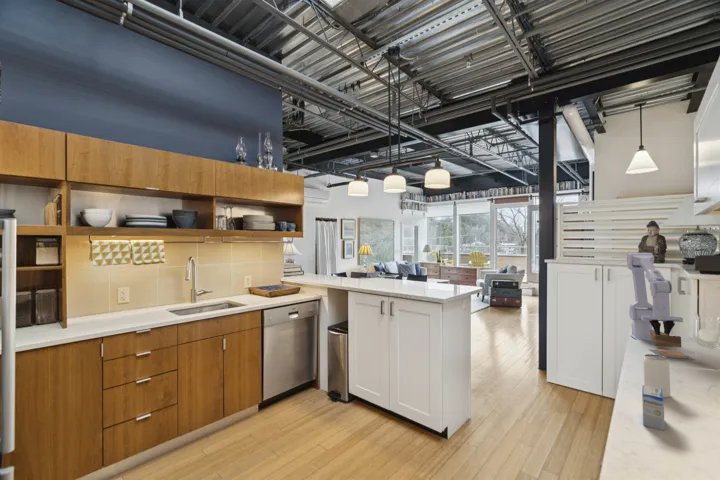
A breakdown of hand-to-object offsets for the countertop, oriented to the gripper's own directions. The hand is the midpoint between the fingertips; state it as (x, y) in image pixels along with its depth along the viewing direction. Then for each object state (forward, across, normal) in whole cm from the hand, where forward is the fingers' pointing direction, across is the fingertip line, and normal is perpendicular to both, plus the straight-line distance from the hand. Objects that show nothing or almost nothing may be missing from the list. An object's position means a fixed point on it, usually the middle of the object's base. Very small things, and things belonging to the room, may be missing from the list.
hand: (662, 337), depth 155 cm
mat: (+6, 0, -6) cm, 9 cm away
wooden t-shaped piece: (+3, 0, +2) cm, 4 cm away
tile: (+5, 0, -3) cm, 6 cm away
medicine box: (+7, -34, -75) cm, 83 cm away
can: (+7, -24, -54) cm, 59 cm away
